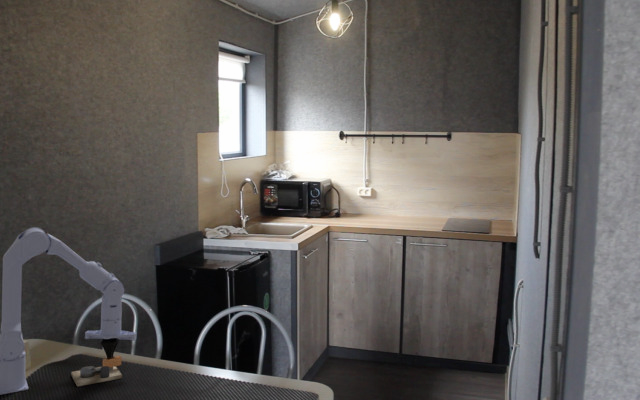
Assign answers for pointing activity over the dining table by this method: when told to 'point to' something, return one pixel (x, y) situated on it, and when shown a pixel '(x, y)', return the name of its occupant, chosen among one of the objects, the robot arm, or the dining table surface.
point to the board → (95, 377)
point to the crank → (91, 370)
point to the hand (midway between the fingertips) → (110, 362)
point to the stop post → (104, 372)
